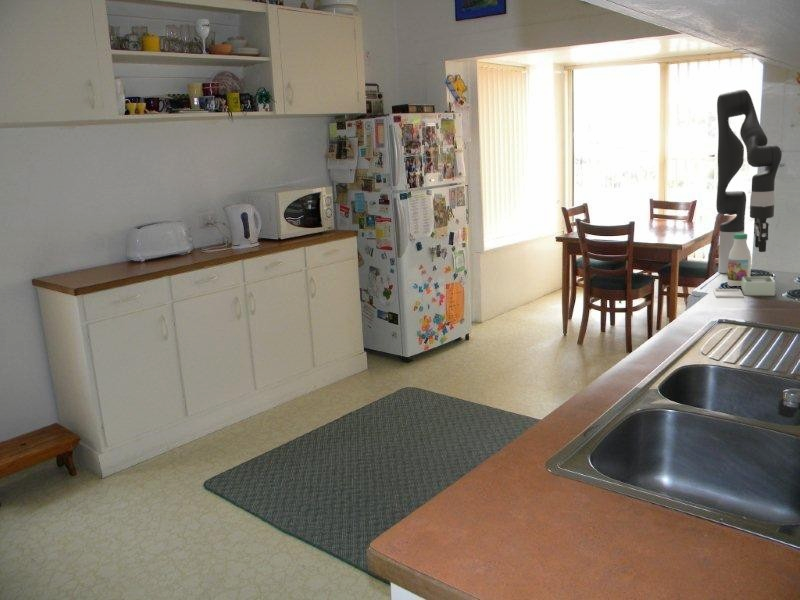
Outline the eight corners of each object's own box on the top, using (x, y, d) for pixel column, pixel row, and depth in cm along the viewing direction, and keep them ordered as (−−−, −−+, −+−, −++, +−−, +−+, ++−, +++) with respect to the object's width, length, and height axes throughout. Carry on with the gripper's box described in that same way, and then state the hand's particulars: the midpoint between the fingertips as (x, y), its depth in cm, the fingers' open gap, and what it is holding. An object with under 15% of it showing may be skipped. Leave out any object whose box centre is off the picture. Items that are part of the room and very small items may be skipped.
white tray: (713, 292, 257) (713, 288, 257) (739, 292, 254) (740, 288, 254) (715, 298, 247) (715, 295, 247) (743, 299, 244) (743, 295, 244)
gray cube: (749, 291, 253) (750, 279, 252) (763, 291, 251) (764, 279, 250) (751, 294, 249) (752, 281, 248) (765, 294, 247) (766, 281, 246)
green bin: (741, 290, 256) (741, 276, 255) (770, 290, 253) (771, 276, 252) (744, 296, 247) (745, 282, 246) (774, 296, 244) (775, 282, 243)
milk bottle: (733, 283, 269) (734, 232, 264) (753, 285, 263) (755, 233, 258) (723, 287, 264) (725, 234, 259) (744, 289, 258) (746, 236, 253)
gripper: (747, 202, 250) (745, 246, 254) (753, 207, 237) (751, 253, 241) (770, 201, 248) (768, 245, 252) (777, 206, 235) (775, 253, 239)
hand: (760, 249), depth 247 cm, fingers open, 8 cm apart
